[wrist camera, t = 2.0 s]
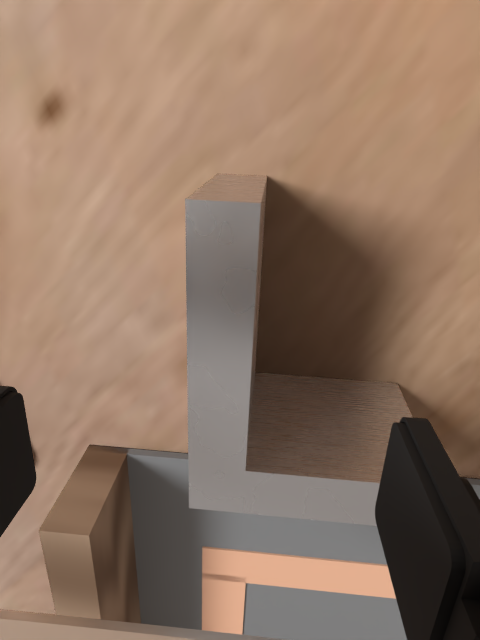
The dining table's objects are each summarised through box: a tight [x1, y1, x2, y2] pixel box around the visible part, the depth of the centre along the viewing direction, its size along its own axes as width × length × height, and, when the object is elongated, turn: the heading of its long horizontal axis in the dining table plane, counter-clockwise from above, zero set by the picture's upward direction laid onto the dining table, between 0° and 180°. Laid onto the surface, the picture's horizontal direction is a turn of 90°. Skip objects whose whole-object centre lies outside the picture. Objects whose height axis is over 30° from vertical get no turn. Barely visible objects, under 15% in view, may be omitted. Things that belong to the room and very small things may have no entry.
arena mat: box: [92, 446, 480, 640], centre depth 25 cm, size 20×20×1 cm
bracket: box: [185, 174, 413, 526], centre depth 15 cm, size 10×8×6 cm
